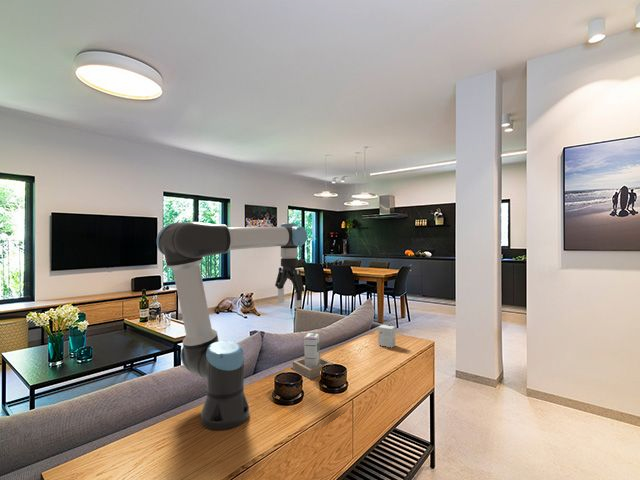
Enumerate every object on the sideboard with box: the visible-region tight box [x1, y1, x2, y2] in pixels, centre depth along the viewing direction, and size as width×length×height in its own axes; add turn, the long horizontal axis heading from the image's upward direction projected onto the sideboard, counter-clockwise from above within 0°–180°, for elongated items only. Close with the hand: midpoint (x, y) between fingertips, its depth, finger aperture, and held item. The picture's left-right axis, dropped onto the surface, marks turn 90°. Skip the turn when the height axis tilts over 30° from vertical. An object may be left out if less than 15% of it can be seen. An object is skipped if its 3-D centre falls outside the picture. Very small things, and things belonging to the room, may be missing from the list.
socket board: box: [290, 356, 334, 379], centre depth 145 cm, size 14×14×3 cm
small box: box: [377, 324, 396, 348], centre depth 177 cm, size 8×6×10 cm
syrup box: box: [303, 332, 321, 369], centre depth 146 cm, size 6×6×14 cm
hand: (289, 305), depth 146 cm, fingers open, 13 cm apart
